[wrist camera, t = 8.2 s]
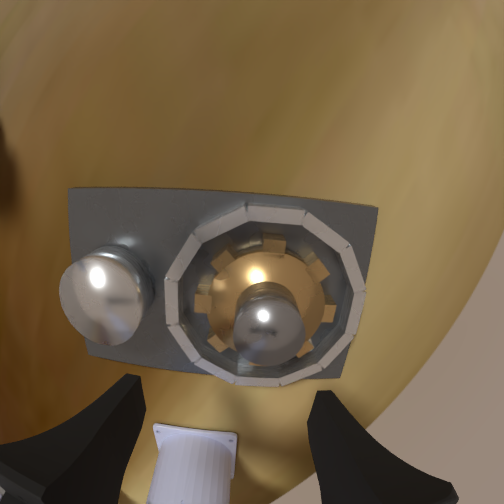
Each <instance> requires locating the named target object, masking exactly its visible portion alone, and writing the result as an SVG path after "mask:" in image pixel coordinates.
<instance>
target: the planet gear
mask: <svg viewBox="0 0 504 504" xmlns="http://www.w3.org/2000/svg"><path fill="white" fill-rule="evenodd" d="M210 264H211V265H212V266H213V267H214V268H215V269H216V270H217V272H216V273H215V275H214V278H213V280H212V283H211V285H203V284H199V285H198V287H197V290H196V292H195V306H194V312H197V313H206V314H207V316H208V320H209V323H210V326H211V328H210V329H209V333H208V338H207V341H208V342H209V343H210V344H211V345H212V346H213V347H214V348H215V349H216V350H217V351H218V352H219V353H220V352H222V351H223V350H225V349H226V348H228V347H230V348H231V349H233V350H235V351H237V352H238V353H239V354H240V355H241V356H242V357H243V358H244V359H246V360H248V361H249V365H255V366H271V365H277V364H281V363H284V362H286V361H288V360H290V359H291V358H293V357H294V356H295V355H296V356H297V357H298V358H300V357H301V356H303V355H304V354H306V353H307V352H309V351H310V350H312V349H313V348H314V346H313V343H312V341H311V337H312V336H313V334H314V333H315V332H316V330H317V329H318V327H319V325H320V323H321V322H332V323H333V318H334V314H335V310H336V306H337V305H336V303H335V302H334V300H333V298H332V297H331V295H324V292H323V289H322V286H321V284H320V282H321V281H322V280H323V279H325V278H326V277H327V276H328V275H330V273H329V272H328V270H327V269H326V267H325V266H324V265H323V263H322V262H321V261H320V259H319V258H318V257H317V256H316V254H315V253H314V252H311V253H310V254H309V255H307V256H306V257H305V258H304V259H303V258H302V257H301V256H299V255H298V254H296V253H294V252H293V251H290V250H288V249H286V239H285V237H284V235H279V234H269V233H263V237H262V245H260V246H254V247H249V248H246V249H243V250H241V251H239V252H236V251H235V250H234V249H233V248H232V246H231V245H230V244H229V243H228V244H227V245H226V246H224V247H223V248H222V249H221V250H219V251H218V252H217V253H216V254H215V255H213V258H212V260H211V263H210Z"/></svg>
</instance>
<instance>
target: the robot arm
mask: <svg viewBox="0 0 504 504" xmlns="http://www.w3.org/2000/svg"><path fill="white" fill-rule="evenodd" d="M145 412H146V405H145V400H144V395H143V389H142V384H141V378H140V376H137V375H132V374H125V375H124V376H123V377H122V378H121V379H120V380H118V381H117V382H116V383H115V384H114V385H113V386H112V387H111V388H109V389H108V390H107V391H106V392H105V393H104V394H103V395H101V396H100V397H99V398H98V399H96V400H95V401H94V402H93V403H92V404H90V405H89V406H88V407H86V408H85V409H83V410H82V411H81V412H79V413H78V414H77V415H75V416H74V417H72V418H70V419H69V420H67V421H65V422H64V423H62V424H60V425H58V426H56V427H54V428H52V429H50V430H48V431H46V432H43V433H41V434H39V435H36V436H33V437H30V438H27V439H24V440H21V441H17V442H12V443H8V444H3V445H0V486H1V487H2V488H3V489H4V490H5V493H4V495H2V494H1V493H0V504H118V499H119V494H120V489H121V485H122V480H123V476H124V473H125V470H126V467H127V464H128V462H129V459H130V456H131V454H132V451H133V449H134V446H135V444H136V441H137V439H138V436H139V434H140V431H141V428H142V424H143V421H144V416H145ZM307 426H308V436H309V444H310V448H311V452H312V456H313V460H314V465H315V469H316V473H317V477H318V481H319V485H320V491H321V499H322V504H456V503H457V502H458V500H459V497H458V495H457V493H456V491H455V489H454V487H453V486H452V484H451V483H450V482H447V481H444V480H442V479H439V478H436V477H433V476H431V475H428V474H426V473H424V472H422V471H420V470H418V469H416V468H414V467H413V466H411V465H409V464H407V463H406V462H404V461H403V460H401V459H400V458H398V457H397V456H395V455H394V454H392V453H391V452H389V451H388V450H387V449H386V448H384V447H383V446H382V445H381V444H380V443H378V442H377V441H376V440H375V439H374V438H373V437H372V436H371V435H370V434H369V433H368V432H367V431H366V430H365V429H364V428H363V427H362V426H361V425H360V424H359V423H358V422H357V420H356V419H355V418H354V417H353V416H352V415H351V414H350V412H349V411H348V410H347V409H346V408H345V406H344V405H343V404H342V403H341V402H340V400H339V399H338V398H337V397H336V395H335V394H334V393H333V392H332V391H331V390H327V391H317V393H316V396H315V400H314V403H313V406H312V409H311V412H310V415H309V418H308V421H307ZM153 430H154V434H155V438H156V442H157V446H158V449H159V455H158V459H157V462H156V466H155V470H154V474H153V478H152V482H151V486H150V490H149V494H148V498H147V502H146V504H229V502H230V480H231V479H233V478H234V470H235V458H236V446H237V434H236V433H233V432H220V431H209V430H200V429H192V428H184V427H177V426H171V425H164V424H159V423H156V424H154V425H153Z"/></svg>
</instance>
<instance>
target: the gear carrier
mask: <svg viewBox="0 0 504 504" xmlns="http://www.w3.org/2000/svg"><path fill="white" fill-rule="evenodd" d="M68 214H69V233H70V246H71V257H72V265H71V266H69V267H68V268H67V269H66V271H65V272H64V274H63V276H62V278H61V282H60V288H59V294H60V301H61V305H62V308H63V310H64V312H65V315H66V316H67V318H68V320H69V321H70V323H71V324H72V325H73V326H74V328H75V329H76V330H77V331H78V332H79V333H81V334H82V335H83V336H84V337H85V342H86V346H87V350H88V354H89V355H92V356H97V357H101V358H106V359H111V360H116V361H121V362H126V363H131V364H137V365H142V366H148V367H155V368H161V369H168V370H175V371H183V372H192V373H201V374H211V375H215V376H217V377H219V378H221V379H223V380H225V381H227V382H229V383H231V384H233V383H234V382H235V385H245V386H268V387H279V383H280V384H281V386H284V385H287V384H289V383H292V382H295V381H297V380H300V379H321V378H340V376H341V373H342V369H343V366H344V363H345V360H346V356H347V353H348V349H349V346H350V342H351V340H352V339H353V338H354V336H353V335H355V334H356V332H357V328H358V324H359V321H360V317H361V313H362V309H363V305H364V301H365V296H366V291H365V290H366V287H365V282H366V277H367V272H368V267H369V262H370V257H371V251H372V246H373V240H374V234H375V228H376V221H377V215H378V207H375V206H371V205H364V204H357V203H349V202H341V201H333V200H324V199H316V198H306V197H296V196H286V195H275V194H264V193H251V192H237V191H222V190H205V189H184V188H154V187H74V188H69V189H68ZM263 233H269V234H279V235H284V237H285V239H286V249H288V250H290V251H293V252H294V253H296V254H298V255H299V256H301V257H302V258H303V259H304V258H305V257H306V256H307V255H309V254H310V253H311V252H314V253H315V254H316V256H317V257H318V258H319V259H320V261H321V262H322V263H323V265H324V266H325V267H326V269H327V270H328V272H329V273H330V275H328V276H327V277H326V278H325V279H323V280H322V281H321V282H320V284H321V286H322V289H323V292H324V295H331V297H332V298H333V300H334V302H335V303H336V305H337V306H336V310H335V314H334V318H333V323H332V322H321V323H320V325H319V327H318V329H317V330H316V332H315V333H314V334H313V336H312V337H311V341H312V343H313V346H314V348H313V349H312V350H310V351H309V352H307V353H306V354H304V355H303V356H301V357H300V358H298V357H297V356H296V355H295V356H294V357H293V358H291V359H290V360H288V361H286V362H284V363H281V364H277V365H271V366H255V365H249V361H248V360H246V359H244V358H243V357H242V356H241V355H240V354H239V353H238V352H237V351H235V350H233V349H231V348H230V347H228V348H226V349H225V350H223V351H222V352H220V353H219V352H218V351H217V350H216V349H215V348H214V347H213V346H212V345H211V344H210V343H209V342H208V341H207V338H208V333H209V329H210V328H211V326H210V323H209V320H208V316H207V314H206V313H197V312H194V306H195V292H196V290H197V287H198V285H199V284H203V285H211V283H212V280H213V278H214V275H215V273H216V272H217V270H216V269H215V268H214V267H213V266H212V265H211V264H210V263H211V260H212V258H213V255H215V254H216V253H217V252H218V251H219V250H221V249H222V248H223V247H224V246H226V245H227V244H228V243H229V244H230V245H231V246H232V248H233V249H234V250H235V251H236V252H239V251H241V250H243V249H246V248H249V247H254V246H260V245H262V237H263Z"/></svg>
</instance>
